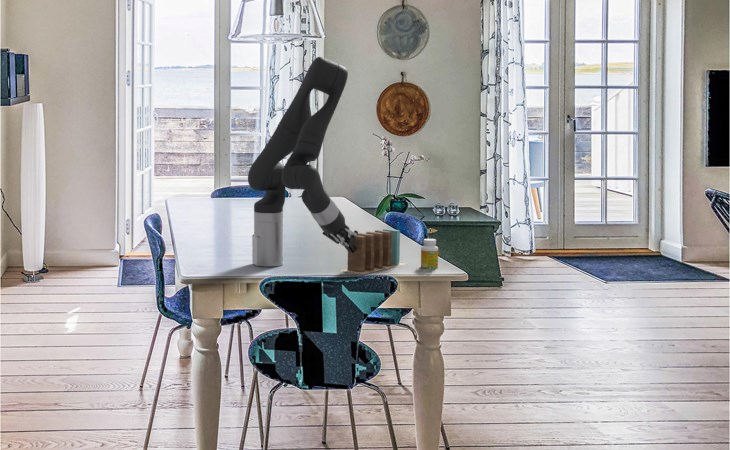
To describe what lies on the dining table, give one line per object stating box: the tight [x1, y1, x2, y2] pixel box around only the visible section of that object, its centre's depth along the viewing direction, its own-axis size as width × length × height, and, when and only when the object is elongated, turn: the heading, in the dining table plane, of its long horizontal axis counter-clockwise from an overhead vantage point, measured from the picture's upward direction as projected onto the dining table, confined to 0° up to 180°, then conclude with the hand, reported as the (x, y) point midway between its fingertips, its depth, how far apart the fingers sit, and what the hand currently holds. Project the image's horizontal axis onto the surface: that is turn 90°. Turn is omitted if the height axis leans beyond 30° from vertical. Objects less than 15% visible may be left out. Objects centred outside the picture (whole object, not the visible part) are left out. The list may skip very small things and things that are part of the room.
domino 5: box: [382, 228, 401, 265], centre depth 275 cm, size 2×6×11 cm, turn 52°
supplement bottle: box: [420, 238, 439, 270], centre depth 269 cm, size 5×5×10 cm
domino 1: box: [347, 235, 366, 273], centre depth 260 cm, size 2×6×11 cm, turn 52°
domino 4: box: [374, 229, 392, 267], centre depth 271 cm, size 2×6×11 cm, turn 52°
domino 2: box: [358, 232, 375, 271], centre depth 264 cm, size 2×6×11 cm, turn 52°
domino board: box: [338, 262, 406, 275], centre depth 268 cm, size 24×9×1 cm, turn 142°
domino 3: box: [365, 231, 383, 269], centre depth 267 cm, size 2×6×11 cm, turn 52°
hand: (352, 250), depth 259 cm, fingers closed
